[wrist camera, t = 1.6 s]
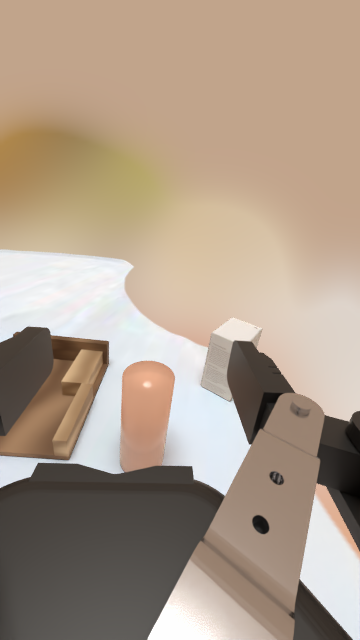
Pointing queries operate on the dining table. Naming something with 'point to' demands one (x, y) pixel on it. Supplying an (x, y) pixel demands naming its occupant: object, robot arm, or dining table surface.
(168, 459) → the dining table surface
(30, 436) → the keyhole track
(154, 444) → the salmon orange cylinder
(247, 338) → the small box
